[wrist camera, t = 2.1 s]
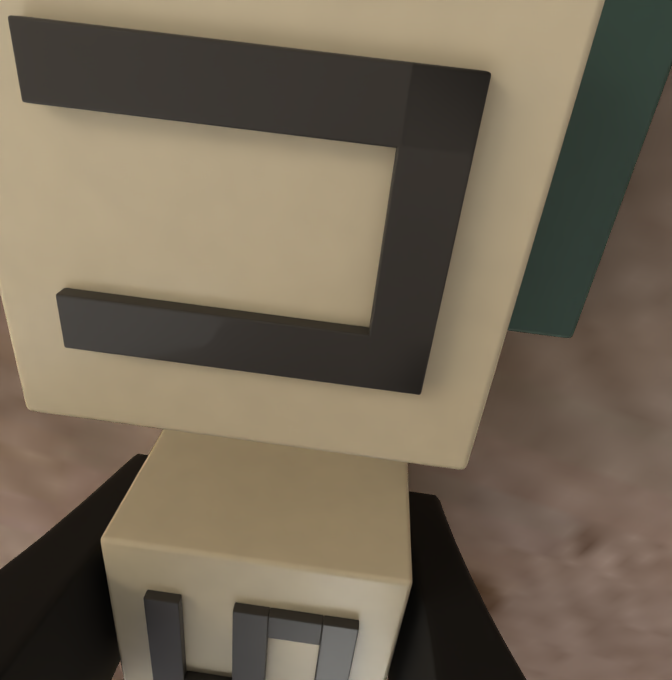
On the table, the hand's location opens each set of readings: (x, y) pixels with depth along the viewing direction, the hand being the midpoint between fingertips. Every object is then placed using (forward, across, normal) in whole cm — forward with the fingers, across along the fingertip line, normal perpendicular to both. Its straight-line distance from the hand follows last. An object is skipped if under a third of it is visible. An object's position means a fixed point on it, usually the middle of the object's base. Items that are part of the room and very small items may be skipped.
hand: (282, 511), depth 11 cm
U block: (+1, 0, -7) cm, 7 cm away
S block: (+1, 0, 0) cm, 1 cm away
